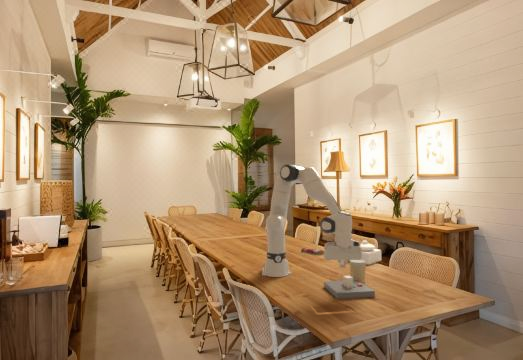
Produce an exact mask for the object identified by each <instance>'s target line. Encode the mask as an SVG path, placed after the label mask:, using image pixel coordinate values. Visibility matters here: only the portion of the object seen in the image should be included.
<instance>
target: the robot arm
mask: <svg viewBox="0 0 523 360" xmlns="http://www.w3.org/2000/svg"><path fill="white" fill-rule="evenodd" d="M294 185H302V186H303V189H304V191H305V193H306V195H307V196H308V197H309V198H310V199H311V200H314V201H318V202H320V203H321V204H323V205H325V206H326V208H327V210H328V211H329V213H330V214H331V215H328V216H327V215H326V216H324V217H323V218H322V219H321V221H320V229H321V231H322V232H323V233H325V234H328V235H330V234H334V241H327V242H326V243H325V244H324V246H323V248H324V250H323V251H324V254H323V258H324V259H325V260H327V261H333V260H334V261H337V263H338V267H339V268H340V269H346V268H347V264H348V263H349V261H348V260H360V259H361V258H362V250H361V247H359V246H361V243H362V242H360V241H358V240H356V239H353V236H352V235H353V234H352V231H353V218H352V217H353V216H352V214H351V213H350V212H349V211H348V212H347V211H345V210H342V209H341V207H340V206H339V204H338V202H337V201H336V199H335V198H334V196H333V194H332V193H331V192H330V191H329V190H328V188H326V185H325V184H324V182H323V181H322V178H321V177H320V174H319V173H318V172H317V170H316V169H315V168H314V167H312V166H308V167H306V166H301V165H298V164H291V163H288V164H284V165H283V166H282V167H281V168H280V170H279V174H277V177H276V179H275V181H274V185H273V189H272V193H271V194H272V196H271V200H270V211H269V215H268V216H267V217H266V219H265V228H266V237H267V239H266V240H267V253H266V260H265V262H263V263H262V267H263V268H262V270H261V276H267V277H270V278H271V277H272V278H282V277H283V278H284V277H286V276H288V275H292V272H291V271H290V270H289V260H288V259H287V252H286V237H285V225H286V222H287V216H288V209H289V202H290V197H291V191H292V187H293V186H294ZM342 261H344V262H343V263H342Z"/></svg>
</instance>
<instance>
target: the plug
mask: <svg viewBox="0 0 523 360" xmlns="http://www.w3.org/2000/svg"><path fill="white" fill-rule="evenodd" d="M342 277H343V279H342V281H343V287H345V288H353V277H351V275H343V276H342Z"/></svg>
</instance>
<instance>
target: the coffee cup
mask: <svg viewBox="0 0 523 360" xmlns="http://www.w3.org/2000/svg"><path fill="white" fill-rule="evenodd" d="M348 263H349V272H350V276H351V277H353V280H359V281H360V282H362V283H363V284H365V281H366V266H367V264H366V262H365V261H364V260H350V261H348Z"/></svg>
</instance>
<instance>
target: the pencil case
mask: <svg viewBox="0 0 523 360" xmlns="http://www.w3.org/2000/svg"><path fill="white" fill-rule="evenodd" d="M324 251H325V250H323V249H320V248H311V247H310V248H309V247H306V248H305V247H304V248H301V250H300V252H301V253H305V254H310V255H316V256H322V255H323V256H324Z"/></svg>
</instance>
